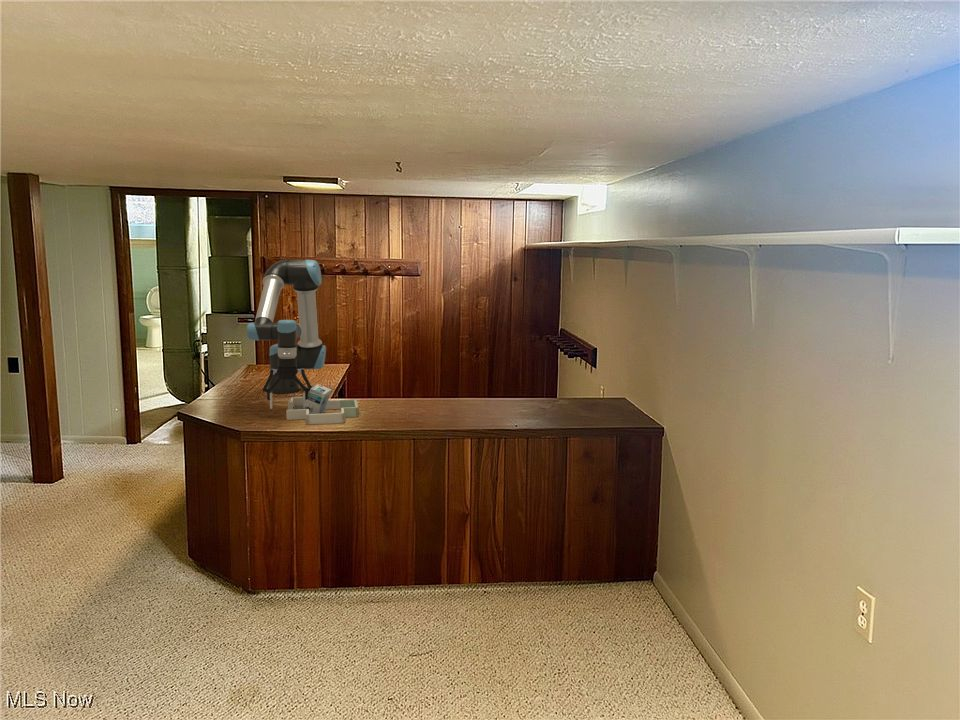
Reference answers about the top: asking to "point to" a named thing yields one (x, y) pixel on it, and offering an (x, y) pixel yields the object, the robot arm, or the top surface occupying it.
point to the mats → (298, 407)
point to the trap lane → (347, 410)
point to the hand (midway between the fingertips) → (287, 407)
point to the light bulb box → (317, 399)
